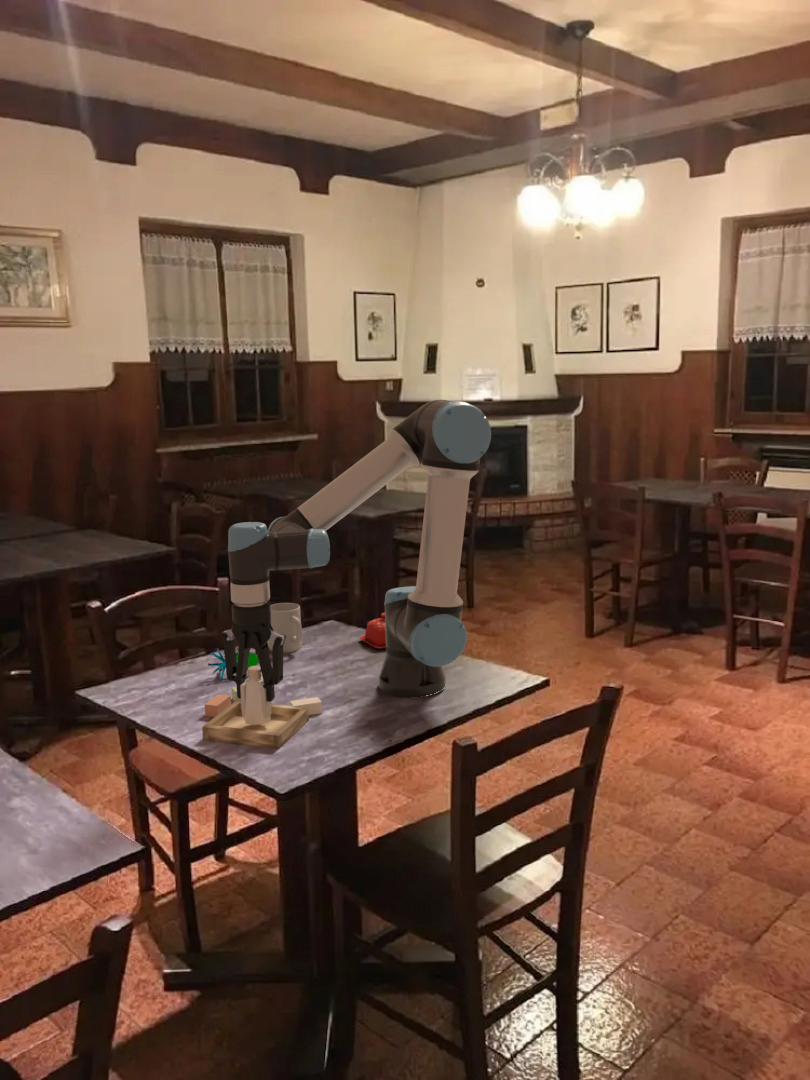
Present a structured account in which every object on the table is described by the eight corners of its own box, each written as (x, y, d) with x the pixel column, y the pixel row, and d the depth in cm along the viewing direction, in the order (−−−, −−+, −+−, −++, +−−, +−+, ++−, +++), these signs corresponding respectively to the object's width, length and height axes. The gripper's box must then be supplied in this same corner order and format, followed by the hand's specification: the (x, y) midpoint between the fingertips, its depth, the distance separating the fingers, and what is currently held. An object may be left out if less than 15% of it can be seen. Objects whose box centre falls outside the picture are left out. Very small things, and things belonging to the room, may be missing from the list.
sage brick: (258, 695, 202) (257, 682, 201) (262, 699, 199) (262, 687, 199) (232, 700, 199) (231, 687, 199) (236, 704, 197) (235, 691, 196)
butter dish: (395, 635, 245) (394, 604, 243) (415, 646, 235) (415, 614, 233) (356, 641, 239) (356, 610, 238) (376, 653, 230) (375, 621, 228)
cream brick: (318, 710, 193) (317, 697, 192) (322, 715, 190) (321, 701, 190) (290, 714, 191) (290, 701, 190) (294, 719, 188) (293, 706, 187)
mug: (262, 647, 235) (260, 606, 233) (290, 640, 240) (289, 600, 238) (286, 658, 226) (284, 616, 224) (315, 651, 231) (313, 610, 229)
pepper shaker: (246, 714, 184) (243, 663, 182) (273, 714, 184) (270, 662, 182) (241, 725, 179) (237, 672, 177) (268, 725, 179) (265, 672, 176)
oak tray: (309, 721, 186) (308, 708, 186) (279, 750, 173) (278, 735, 172) (237, 713, 191) (236, 700, 190) (203, 741, 177) (202, 726, 177)
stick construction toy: (211, 678, 208) (207, 646, 211) (205, 687, 213) (201, 656, 216) (262, 674, 213) (257, 643, 216) (254, 683, 219) (249, 652, 222)
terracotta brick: (218, 707, 195) (218, 694, 195) (231, 708, 194) (230, 695, 194) (205, 717, 190) (204, 704, 189) (218, 719, 189) (217, 705, 188)
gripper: (298, 599, 178) (303, 711, 182) (221, 594, 182) (227, 704, 187) (282, 609, 171) (287, 726, 175) (202, 604, 175) (210, 717, 180)
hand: (256, 714), depth 181 cm, fingers closed on pepper shaker, 4 cm apart
